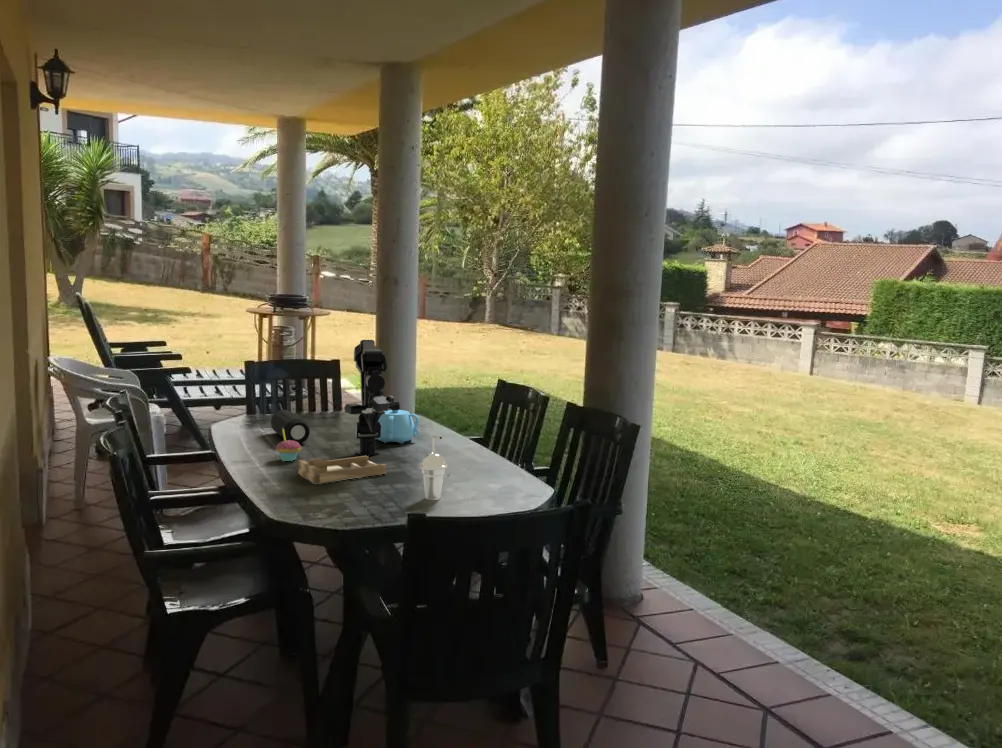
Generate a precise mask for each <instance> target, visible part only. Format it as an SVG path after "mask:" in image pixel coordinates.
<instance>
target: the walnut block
mask: <svg viewBox="0 0 1002 748" xmlns="http://www.w3.org/2000/svg"><path fill="white" fill-rule="evenodd" d="M327 461H328V460H326V459H324V458H322V457H318V458H311V459H307V462H308V463H310V464H312V465H313V466H315V467H317V468H319V469H320V473H321V472H327Z"/></svg>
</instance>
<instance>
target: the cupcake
mask: <svg viewBox="0 0 1002 748" xmlns="http://www.w3.org/2000/svg"><path fill="white" fill-rule="evenodd" d="M282 428H283V427H282ZM282 431H283V437H284V438H283V437H282V438H283V440H282V441H280V442H279V443H278V444H276V447H275V449H276V452H277V453H278V454H279V456H280V459H281V461H282V460H283V461H282V462H284V461H292V462H294V461H293V460H295V459H296V460H297V456H298V454H299V452H301V451H302V446H301V445H302V443H301V444H299V443H298V442H296V441H293V440H292V441H291V440H286V437H285V431H284V429H282ZM296 460H295V461H296Z"/></svg>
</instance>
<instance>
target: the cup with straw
mask: <svg viewBox="0 0 1002 748" xmlns="http://www.w3.org/2000/svg"><path fill="white" fill-rule="evenodd" d="M442 438H443V437H442V436H436V435H433V436H432V438H431V441H432V442H431V447H432V448H431V453H428V454H426V455H425V456H424V457H423V458H422V461H421V462H420V463H419V465H418V466H419V468H420V469H421V473H422V476H423V484H424V485H423V488H424V494H425V499H426V500H429V501H438V500H440V499H441V495H442V490H443V489H442V488H443V480H444V476H445V472H446V469H447V468H448V463H447V462H446V461H445V459H444V457H443V455H441V454H439V453H437V452H435V445H436V443H435V441H436V439H438V440H442Z"/></svg>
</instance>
